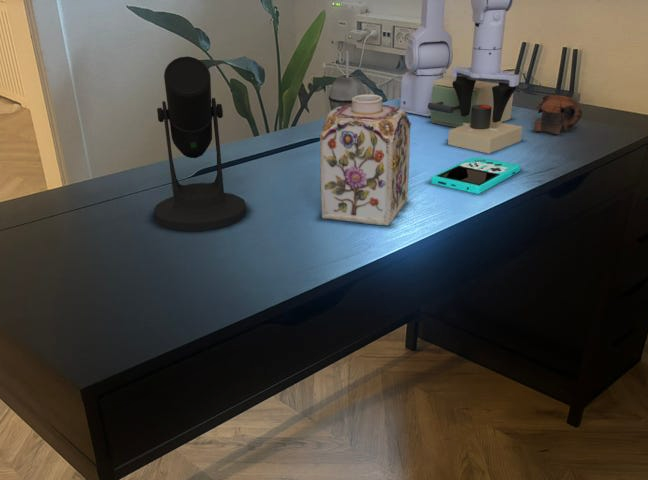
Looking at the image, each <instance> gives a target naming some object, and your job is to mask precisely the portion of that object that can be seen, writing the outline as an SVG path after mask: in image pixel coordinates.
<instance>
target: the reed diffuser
mask: <svg viewBox="0 0 648 480" xmlns="http://www.w3.org/2000/svg"><path fill="white" fill-rule="evenodd" d="M349 52H350V51H349V50H346V51H345V74H343V75H341V76H339V77H337V78H336V79H335V80H334V81H333V83H332V84H331V86H330V88H329V96H328V100H329V107H330V111H332V110H333V109H335V108H337V107H341V106H344V105H350V104H352V98H353V97H355V96H358V95H366V94H367V91H366V88H365V85H364V84H363V82H362V81H361V79H360V78H358V77H357V76H355V75H352V74H350V64H349V63H350V62H349V61H350V56H349V55H350V53H349Z"/></svg>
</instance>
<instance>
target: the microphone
mask: <svg viewBox="0 0 648 480" xmlns="http://www.w3.org/2000/svg"><path fill="white" fill-rule="evenodd" d="M211 78H212V77H211V72H210V69H209V68H208V67H207V64H205V63H204V62H203V61H202V60H200V59H198V58H196V57H192V56H180V57H176V58H174V59H172V61H170V62H169V63H168V64H167V66H165V70H164V73H163V79H164V80H163V81H164V87H165V88H164V89H165V95H166V101H165V100H163V101H162V103H161V104H162V107H157V108H156V112H157V121H158V122H159V123H164V129H165V130H164V131H165V137H166V146H167V153H168V164H169V170H170V171H169V172H170V180H171V186H172V187H171V188H172V195H173V196H170V197H167V198H165V199H164V200H161V201H160V202H158V203H157V204H156V205H155V207H154V210H153V211H154V212H153V213H154V218H155V222H156V223H157V224H158V225H160V226H161V227H164V228H166V229H170V230H175V231H180V232H205V231H210V230H217V229H222V228H225V227H229V226H231V225H234V224H236V223H239V222H240V221H241V220H242V219H244V218H245V216H246V214H247V204H246V201H245V199H243V198H242V197H240V196H239V195H236V194H233V193H228V192H225V189H224V178H223V168H222V167H223V166H222V156H221V142H220V133H219V119H222V118H223V117H224V111H223V105H222V104H221V103H217V101H216V97H212V83H211V82H212V79H211ZM213 132H214V139H215V140H214V141H215V152H216V175H215V176H216V177H215V179H214V181H213V182H197V183H189V184H188V183H187V184H181V183H180V182H179V180H178V178H177V174H176V170H175V164H174V161H173V151H172V143H173V144H174V146H175V147H176V148H177V149H178V151H179V153H181V154H182V155H183V156H184V157H187V158H188V159H189V158H190V159H197V158H200V157H201V156H203V155H204V154H205V153H206V151H207V149H208V148H209V147H210V145H211V143H212V140H213ZM171 140H172V143H171Z"/></svg>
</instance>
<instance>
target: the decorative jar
mask: <svg viewBox="0 0 648 480" xmlns="http://www.w3.org/2000/svg"><path fill="white" fill-rule="evenodd" d="M399 108H400V107H399ZM399 108H398V107H396V106H394V105H387V104H383V96H380V95H378V94H371V93H370V94H367V93H366V95H358V96H355V97H353V98H352V104H350V105H344V106H341V107H337V108H335V109H333V110H330V111H329V112H328V113H327V115H326V118H325V120H324V123H323V126H322V129H321V132H320V134H319V170H320V171H319V173H320V176H319V177H320V178H319V179H320V209H321V210H320V211H321V218H322V219H323V220H334V221H340V222H341V221H342V222H350V223H359V224H367V225H376V226H385V227H387V226H390V224H391V223H392V222H393V220H394V219H395V218H396V217H397V215H398V214H399V213H400V211H401V210H402V209H403V208H404V206H405V205H406V204H407V202H408V197H409V195H408V194H409V178H410V177H409V175H410V149H411V147H410V146H411V143H410V142H411V141H410V140H411V126H412V122H411V121H410V120H409V117H408V115H407V112H404V111H402V110H401V109H399Z"/></svg>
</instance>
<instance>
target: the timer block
mask: <svg viewBox="0 0 648 480" xmlns="http://www.w3.org/2000/svg"><path fill="white" fill-rule="evenodd" d="M463 124H466V125H463V126H460V127H453V128H451V129H448V138H447V139H448V140H447V145H448V146H452V147H457V148H462V149H467V150H470V151H476V152H478V153H479V152H480V153H484V154H487V155H488V154H492V153H494V152H497V151H499V150H502V149H505V148H507V147H509V146H512V145H514V144H517V143H519V142H522V135H523V126H521V125H515V124H510V123H505V122H496V123H495V122H493V121H490V127H489V128H488V129H474V128H471V127H470V123H468V124H467V123H463Z"/></svg>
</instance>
